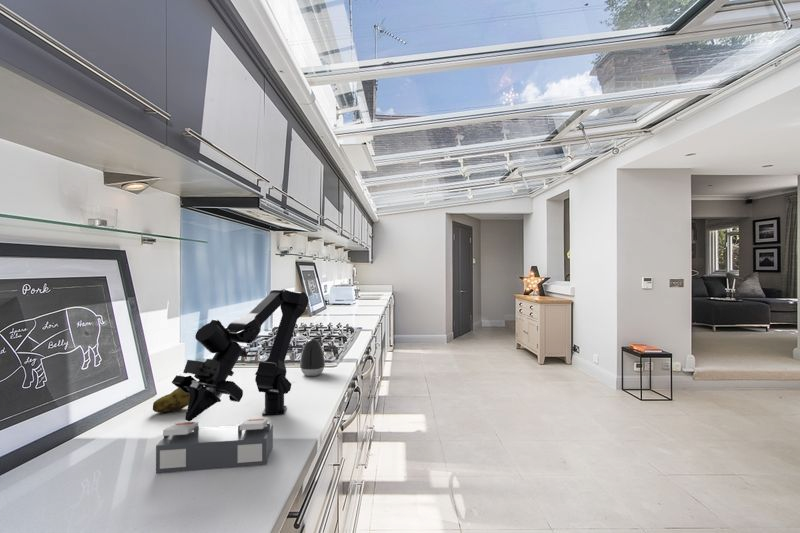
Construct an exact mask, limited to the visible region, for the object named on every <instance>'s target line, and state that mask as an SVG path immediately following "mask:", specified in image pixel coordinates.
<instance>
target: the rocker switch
mask: <svg viewBox="0 0 800 533" xmlns="http://www.w3.org/2000/svg"><path fill="white" fill-rule="evenodd" d="M267 422H269V418H265V417H264V418H250V419H245V421H243V422H241V423H239V424H240V430H252V429H263V428H264V427H265V426H266V425H267Z"/></svg>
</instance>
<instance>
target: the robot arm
mask: <svg viewBox="0 0 800 533" xmlns="http://www.w3.org/2000/svg"><path fill="white" fill-rule="evenodd" d="M309 300H310V299H309V296H308V295H307V294H306V292H304V291H291V290H287V289H285V288H273V289H271V290H270V291H269V294H268V295H266V297H265V298H264V299H262V301H260V302H259V303H258V304H257V305H256V306H255V307H254V308H253V309H252V310H251V311H250V312H249V313H247V314H246V315H242V316H240V317H238V318H236V319H235V320H233V321H232V322H230V323H229V324H228V325H227V326H226V327H225V326H224V325H223V324H222V322H221V321H220V320H219V319H211V321H210V322H208V323H206V324H204V325H202V327H201V328H198V330H197V331H196V332H195V335H194V336H195V339H196V341H198V342H199V344H200V345H202V346H203V347H204V348H205V349H206V350H207V351H208V352H209V353H211V354H214V356H213V357H212V358H207V359H206V360H205V361H200V360H192V359H187V360H186V364H185V366H184V370H183V374H182V373H180V374H176V375H175V376H174V378H173V380H172V381H171V384H172V385H174V386H175V387H177V388H179V389H181V390H182V391H183V392H185V393H188V394H190V400H189V405H188V406H187V409H186V414H185V418H184V420H185V421H186V422H192V421H193V420H195V418H197V417H198V416H200V415H201V414H202V413H203V412H205V411H206V410H208V409H209V408H210V407H212V406H214V405H215V404H217V403H221V401H222V399H221V396H222V395H224V394H225V395H227V396H228V395H229V396H228V398H229V401H230V402H236V403H240V401H241V400H242V398H243V395H244V390H243V389H242V388H241V387H240V386H239V385H238V384H236V383H235V382H234V381H231V380H227V378H228V377H229V376H230V377H233V375H234V374H235V372H234V371H233V368H234V367H235V365H236V363H237V362H238V360H239V358H240V357H243V358H247V357H248V352H247V350H246V346H242V345H241V343H242V344H253V342H254V341H255V340H256V339H257V337H258V335H259V334H260V333H261V331H262V330H261V328H262V325H263V324H264V323H265V322H266V321H267V320H268V319H269V318H270V317H271V316H272V315H273V314H274V313H275V311H277V309H278V308H279V307H280V310H281V318H280V322H279V325H278V328H277V330H276V334H275V337H274V340H273V344H272V346H271V349H270V352H269V355H268V358H267V359H266V360H264V361H260V362H259V364H258V365H257V366H258V367H257V369H256V372H255V374H254V375H255V379H254V380H255V383H256V387H257V390H258V392H259V393H264V409H263V411H262V412H261V415H262V416H272V415H273V416H274V415H284V414H285V412H286V410H287V405H285V394H288V393H289V392H290V391H291V388H292V383H291V382H290V381H289V379H288V378H287V377H286V376H287V368H286V364H285V362H286V357H287V355H288V351H289V349H290V348H289V347H290V344H291V341H292V337H293V334H294V331H295V329H296V324H297V322H298V319H299V318H300V317H301V316H302V315H303V314H304V313H305V311H306V310H307V308H308V304H309ZM189 374H191V375H189ZM192 375H194V376H193V377H192ZM196 379H197V380H196Z"/></svg>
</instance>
